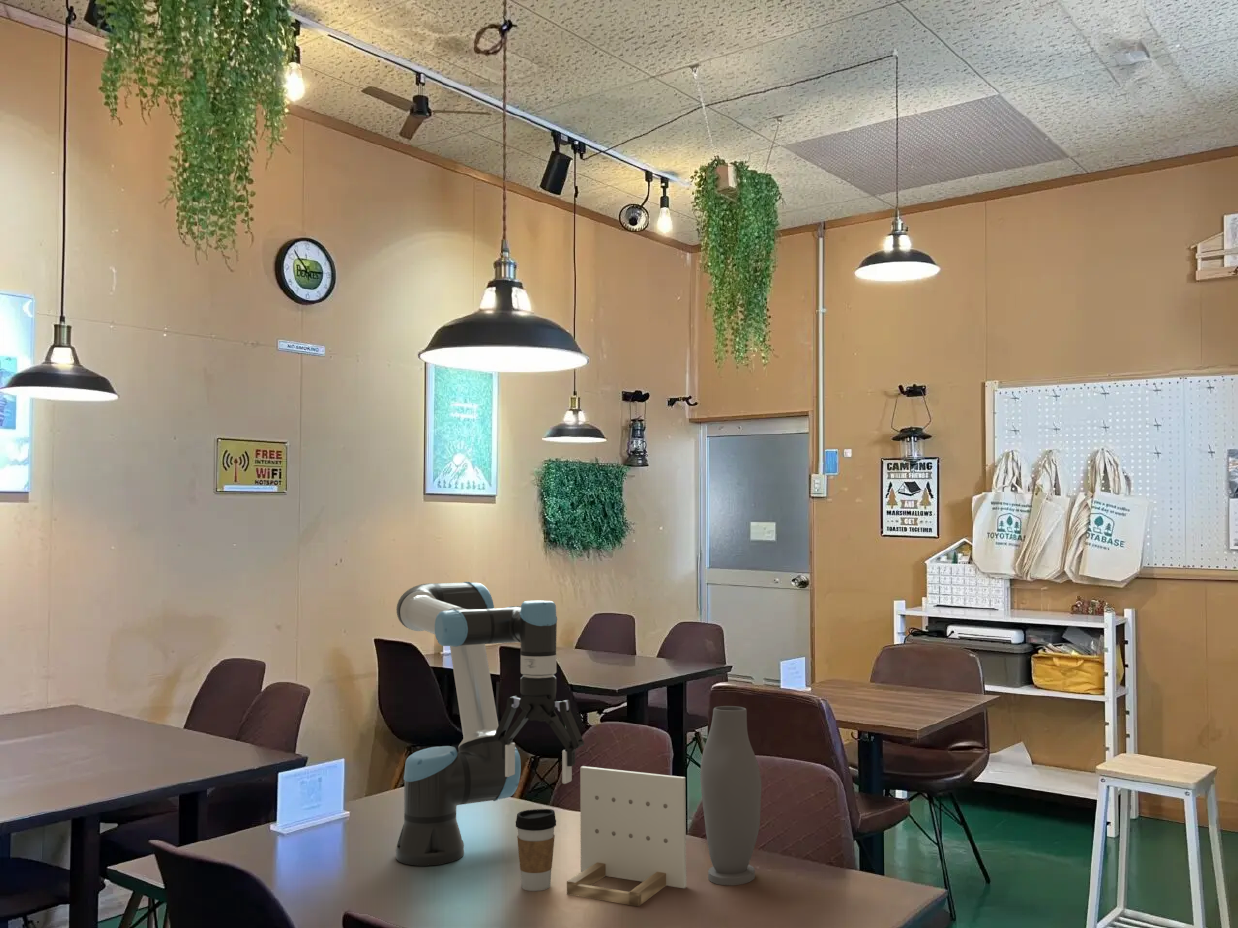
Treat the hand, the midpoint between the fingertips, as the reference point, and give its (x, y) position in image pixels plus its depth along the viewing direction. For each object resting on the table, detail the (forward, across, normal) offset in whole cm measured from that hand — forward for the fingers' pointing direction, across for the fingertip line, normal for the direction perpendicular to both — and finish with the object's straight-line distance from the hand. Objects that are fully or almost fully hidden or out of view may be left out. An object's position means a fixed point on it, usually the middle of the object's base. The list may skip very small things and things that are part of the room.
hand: (538, 778), depth 212 cm
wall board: (+22, +16, +12) cm, 29 cm away
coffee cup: (+22, 0, -1) cm, 22 cm away
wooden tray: (+22, +16, +4) cm, 27 cm away
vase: (+22, +34, +22) cm, 46 cm away
